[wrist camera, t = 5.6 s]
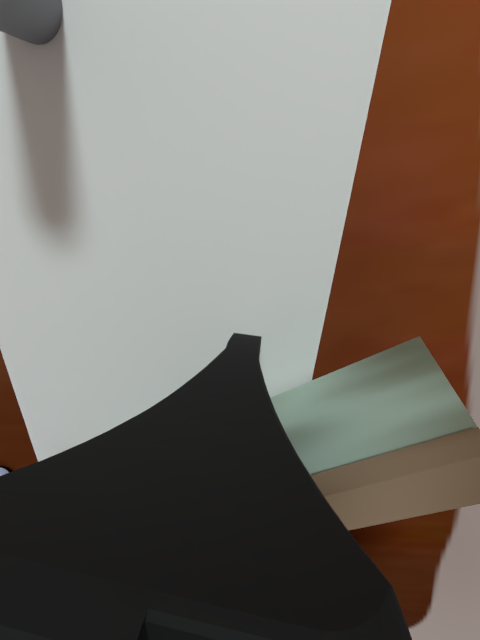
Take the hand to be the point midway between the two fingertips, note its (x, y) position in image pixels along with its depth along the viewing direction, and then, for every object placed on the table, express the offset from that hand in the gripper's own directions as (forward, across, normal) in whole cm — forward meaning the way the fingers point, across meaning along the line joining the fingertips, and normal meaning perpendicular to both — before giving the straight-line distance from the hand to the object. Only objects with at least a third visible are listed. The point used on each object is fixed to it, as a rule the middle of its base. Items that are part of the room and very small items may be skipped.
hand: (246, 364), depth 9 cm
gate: (+1, +1, +4) cm, 4 cm away
